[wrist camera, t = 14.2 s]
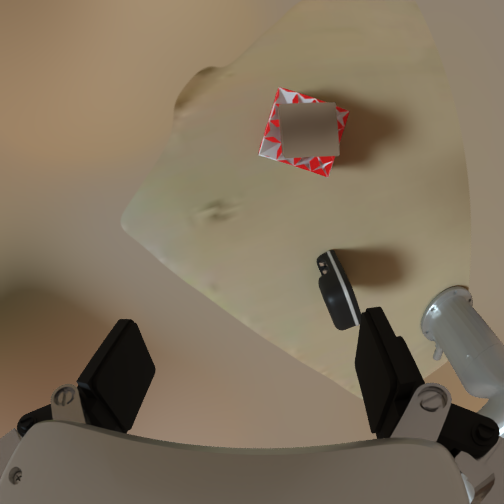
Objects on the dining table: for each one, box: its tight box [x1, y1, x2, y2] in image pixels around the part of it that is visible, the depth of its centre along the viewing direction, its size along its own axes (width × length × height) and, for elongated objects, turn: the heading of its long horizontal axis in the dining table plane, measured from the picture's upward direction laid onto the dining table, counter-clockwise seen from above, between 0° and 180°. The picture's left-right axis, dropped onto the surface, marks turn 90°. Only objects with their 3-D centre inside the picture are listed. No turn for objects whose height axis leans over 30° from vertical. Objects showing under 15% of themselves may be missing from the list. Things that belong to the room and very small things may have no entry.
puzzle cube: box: [258, 87, 350, 177], centre depth 31 cm, size 8×8×8 cm
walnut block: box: [278, 102, 340, 158], centre depth 25 cm, size 5×5×5 cm
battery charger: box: [317, 250, 361, 330], centre depth 37 cm, size 7×4×11 cm, turn 26°
